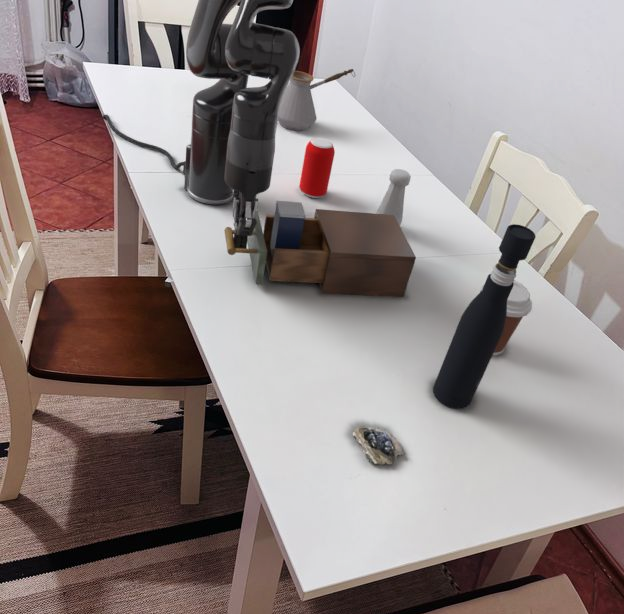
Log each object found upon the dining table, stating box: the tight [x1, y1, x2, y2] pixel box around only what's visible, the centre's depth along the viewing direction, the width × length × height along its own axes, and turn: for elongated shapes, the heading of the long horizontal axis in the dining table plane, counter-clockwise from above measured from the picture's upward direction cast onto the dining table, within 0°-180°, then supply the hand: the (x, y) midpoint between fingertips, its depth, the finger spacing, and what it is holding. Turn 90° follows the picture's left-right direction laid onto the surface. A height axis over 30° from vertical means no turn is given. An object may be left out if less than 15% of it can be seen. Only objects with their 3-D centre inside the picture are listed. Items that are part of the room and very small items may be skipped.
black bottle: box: [432, 223, 536, 410], centre depth 95 cm, size 6×6×30 cm
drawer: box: [224, 209, 329, 286], centre depth 119 cm, size 20×14×7 cm
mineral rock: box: [352, 425, 405, 466], centre depth 92 cm, size 7×8×2 cm
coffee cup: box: [479, 279, 533, 356], centre depth 113 cm, size 9×9×12 cm
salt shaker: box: [375, 168, 412, 226], centre depth 138 cm, size 6×6×13 cm
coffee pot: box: [277, 68, 356, 132], centre depth 172 cm, size 21×12×15 cm, turn 120°
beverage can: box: [299, 137, 336, 199], centre depth 143 cm, size 6×6×12 cm
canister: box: [269, 200, 307, 262], centre depth 117 cm, size 4×4×10 cm
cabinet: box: [313, 208, 417, 298], centre depth 123 cm, size 16×15×9 cm
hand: (239, 248), depth 117 cm, fingers closed
